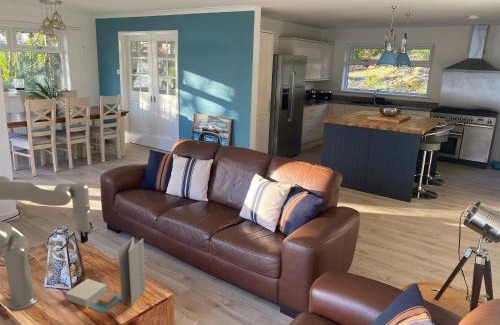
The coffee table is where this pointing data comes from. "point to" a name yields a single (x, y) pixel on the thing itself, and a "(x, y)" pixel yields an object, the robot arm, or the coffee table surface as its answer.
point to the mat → (103, 307)
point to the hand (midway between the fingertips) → (84, 241)
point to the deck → (86, 292)
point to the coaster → (107, 299)
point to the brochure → (132, 270)
